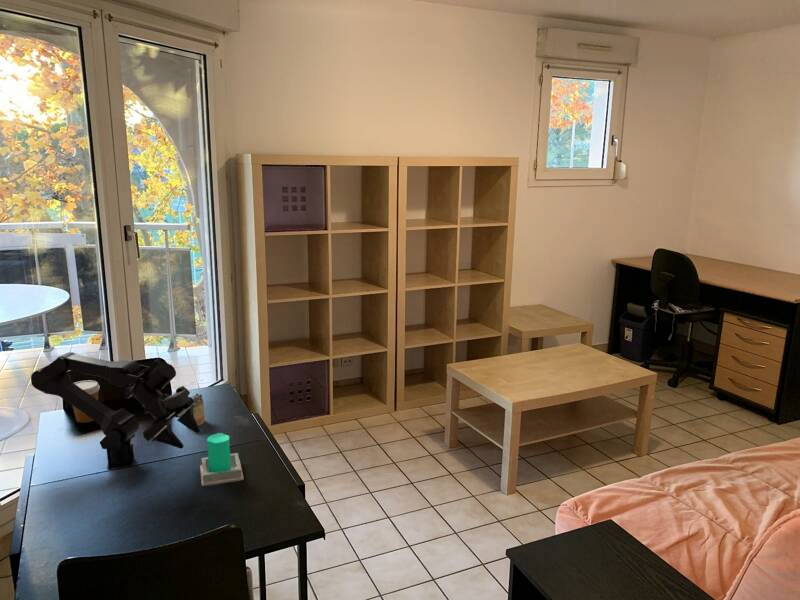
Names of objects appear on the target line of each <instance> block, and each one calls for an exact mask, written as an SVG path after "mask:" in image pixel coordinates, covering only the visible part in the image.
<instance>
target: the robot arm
mask: <svg viewBox="0 0 800 600" xmlns="http://www.w3.org/2000/svg"><path fill="white" fill-rule="evenodd" d="M69 371H70V372H76V373H80V374H85V375H88V376H89V375H90V376H95V377H99V378H103V379H105V380H106V381H107V382H109V384H111V385H114V386H116V387H119V388H125V399H126V400H128V399H129V398H131V397H132V396H133V397H134V398H135V399H136V401H137V402H138V403H140V405H141V406H142V407H143V408H144V410H143V413H144V414H146V415H147V414H148V413H149V414H150V415H151V416H152V417H153V418H154V419H155V420H154V422H152V423H151V424H150V425H149V426H147V428H146V429H145V430H144V431H142V435H143V438H144V439H145V440H146V441H147V442H150V441H152V442H159V443H163V444H165V445H168V446H172V447H174V448H177V449H183V448H184V447H185V446H184V444H183V442H182V441H181V440H180V439H179V438H178V436H177V435H176V434H175V433H174V432H173V431H172V424H171V423H169V422H170V421H172V420H173V419H174V418H177V420H176V421H177V422H178V423H180V424H181V425H183V426H185V427H186V428H187V427H188V428H187V429H189V430H191V431H192V432H194V433H196V434H197V435H198V434H199V433H200V432H201V429H200V426H198V425H197V422H196V420H195V418H194V415H193V407H194V405H193V406H191V405H192V404H193V403H194V402H195V401H194V400H193V398H191V397H192V396H190V393H191V392H190V390H188V388H186V387H185V386H184V385H182V386H179V387H177V388H176V389H175V392H174V393H173V394H171V395H170V394H169V393H168V392H164V393H162V392H161V390H163V389H164V388H165V387H166V386H167V385H168V384H169V383H170V382H171V381H172V380H173V379H174V378H175V377H176V376H177V372H176V369H175V367H174V366H173V365H172V364H169V363H168V362H165V361H162V360H160V358H157V359H156V360H154V361H153V362H151V365H150V366H147V365H144V364H140V363H139V362H137V361H136V360H125V359H123V360H116V361H115V360H114V361H112V360H111V361H110V360H105V359H101V358H100V359H99V358H96V357H92V356H85V355H80V354H77V353H75V352H74V351H72V352H70V351H69V352H66V353H64V354H61V355H60V356H58V357H56V359H54V360H53V361H52V362H51V363H49V364H48V365H46V366H44V367H42V368H39V369H37V370H35V371H33V372H32V374H31V376H30V382H31V386H32V387H33V388H35V389H36V390H38V391H40V392H41V393H44V394H46V395H52V396H57V397H59V398H61V399H63V400H64V401H66V402H67V403H68V404H70V405H73V406H74V407H75V408H77V409H78V410H80V411H81V412H83V413H84V414H85V415H87V416H88V417H90V418H91V419H93V420H94V421H93V422H96V423H97V424H98V425H99V426H100V428H101V431H102V433H103V435H104V436H105V437H103V438H102V439H101V440H100V441H99V445H100V447H101V449H102V450H106V456H107V457H106V458H107V465H106V466H107V467H106V469H108V470H110V469H111V470H112V469H118V468H125V467H132V466H133V463H134V461H135V460H136V459H135V457H136V455H135V453H136V452H135V445H134V444H133V443H132V439H134V438H135V437H136V434H137V433H138V432H139V429H140V424H139V420H138V419H137V418H136V417H135V414H132V413H131V412H129V411H128V410H127V409H125V408H124V407H122V408H120V409H119V410H113V409H111V408H110V407H108V406H106V404H104V403H103V402H101V401H100V400H99V399H98V400H97V399H96V398H94V397H93V396H91V395H90V394H88V393H87V392H85V391H84V390H83V389H81V388H80V387H78V386H77V385H75V384H74V383H75V382H72V379H71V376H70V374H69ZM132 384H133V385H132ZM130 385H132V386H130ZM73 406H72V407H73ZM190 406H191V407H190ZM168 423H169V424H168Z"/></svg>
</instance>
